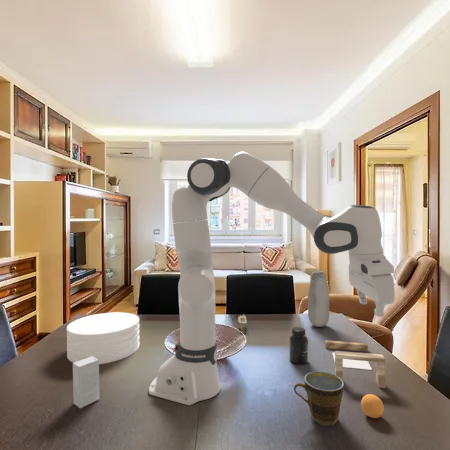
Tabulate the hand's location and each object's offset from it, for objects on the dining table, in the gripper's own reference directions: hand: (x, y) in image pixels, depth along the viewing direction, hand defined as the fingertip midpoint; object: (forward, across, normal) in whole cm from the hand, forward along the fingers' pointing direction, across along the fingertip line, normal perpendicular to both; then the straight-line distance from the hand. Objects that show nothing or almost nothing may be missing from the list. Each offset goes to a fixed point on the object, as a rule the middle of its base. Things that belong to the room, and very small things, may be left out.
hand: (370, 309), depth 85 cm
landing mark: (+29, -25, +2) cm, 39 cm away
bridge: (+28, -10, -2) cm, 30 cm away
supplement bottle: (+27, -25, -18) cm, 41 cm away
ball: (+24, +7, -5) cm, 25 cm away
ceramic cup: (+25, +8, -20) cm, 33 cm away
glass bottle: (+32, -63, 0) cm, 71 cm away
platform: (+28, -61, -38) cm, 77 cm away
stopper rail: (+30, -36, +4) cm, 47 cm away
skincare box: (+18, 0, -85) cm, 87 cm away
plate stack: (+20, -36, -96) cm, 104 cm away
